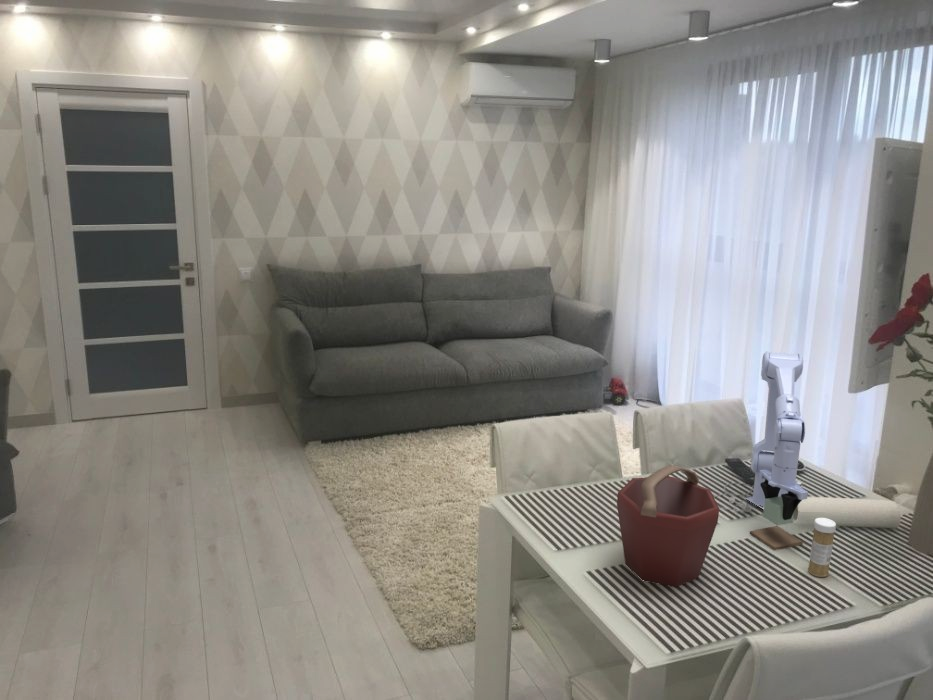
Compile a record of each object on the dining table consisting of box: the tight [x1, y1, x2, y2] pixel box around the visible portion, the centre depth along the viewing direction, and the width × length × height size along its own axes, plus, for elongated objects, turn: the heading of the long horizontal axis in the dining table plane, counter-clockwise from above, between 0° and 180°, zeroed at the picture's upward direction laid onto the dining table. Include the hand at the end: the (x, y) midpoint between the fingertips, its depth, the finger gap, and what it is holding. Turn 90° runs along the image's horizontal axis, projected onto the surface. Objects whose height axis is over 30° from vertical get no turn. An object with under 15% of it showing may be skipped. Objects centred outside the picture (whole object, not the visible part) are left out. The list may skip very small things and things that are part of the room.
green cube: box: [762, 496, 795, 526], centre depth 190 cm, size 5×5×5 cm
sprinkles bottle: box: [807, 517, 837, 578], centre depth 174 cm, size 5×5×13 cm
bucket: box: [616, 464, 720, 588], centre depth 175 cm, size 24×22×25 cm
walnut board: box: [749, 525, 804, 551], centre depth 192 cm, size 9×9×1 cm
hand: (778, 514), depth 190 cm, fingers closed on green cube, 5 cm apart
